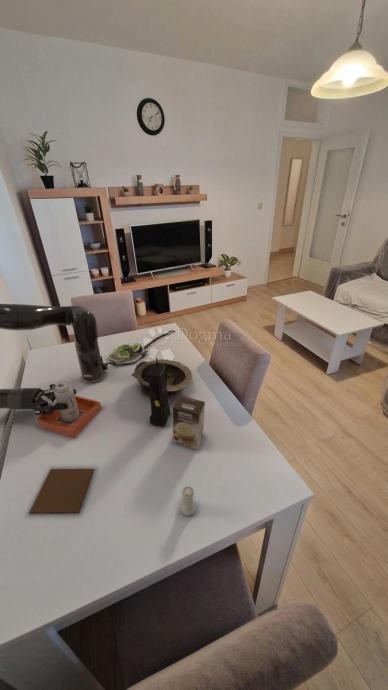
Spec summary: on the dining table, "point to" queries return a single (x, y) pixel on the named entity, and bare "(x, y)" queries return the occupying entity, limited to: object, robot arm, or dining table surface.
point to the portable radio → (158, 394)
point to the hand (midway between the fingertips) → (71, 398)
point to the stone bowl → (175, 375)
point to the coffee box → (188, 422)
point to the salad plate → (127, 353)
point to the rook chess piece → (187, 501)
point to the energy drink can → (66, 400)
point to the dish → (84, 406)
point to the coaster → (63, 491)
